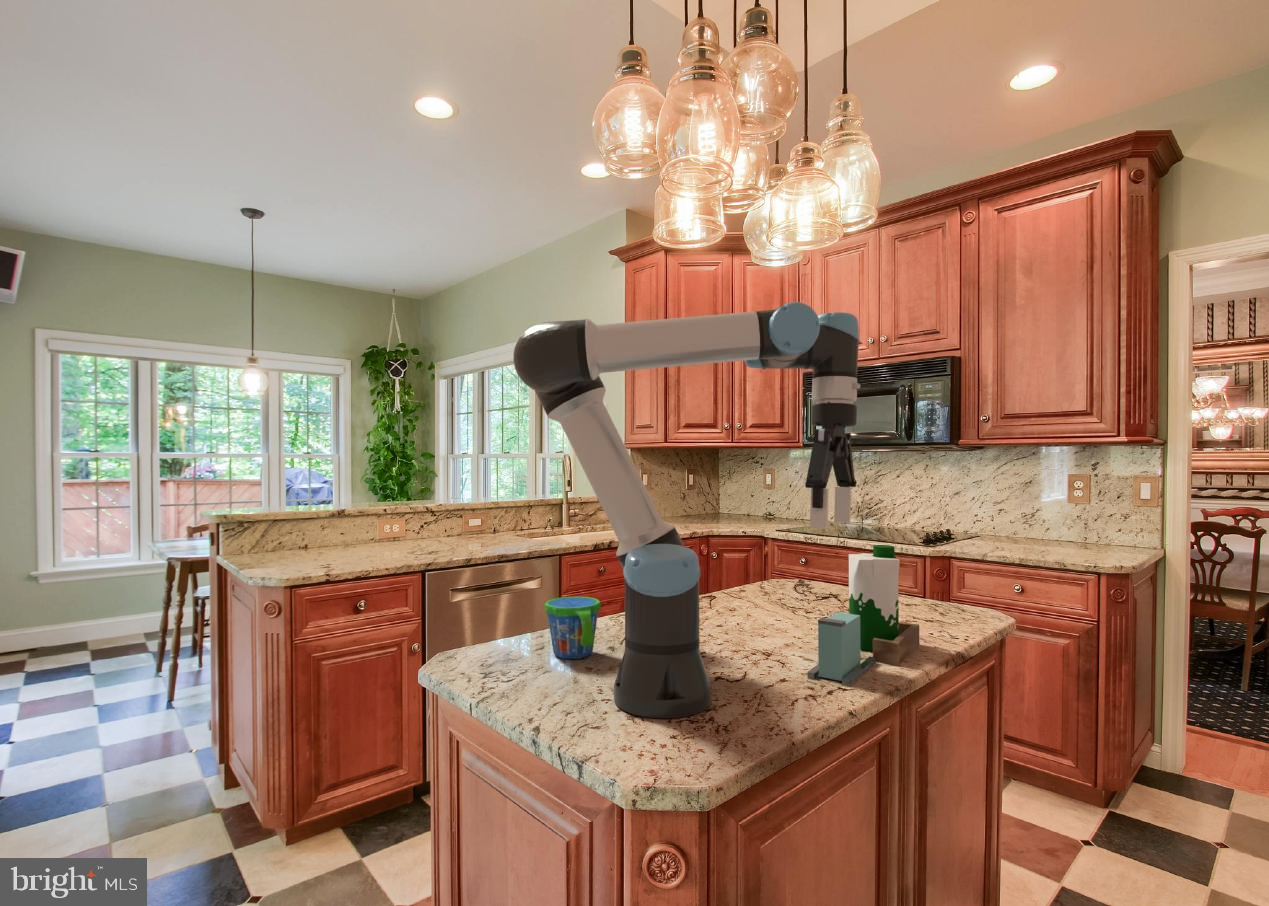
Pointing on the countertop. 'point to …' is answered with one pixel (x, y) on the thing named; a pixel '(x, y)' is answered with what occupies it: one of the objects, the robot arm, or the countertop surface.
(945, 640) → the countertop surface
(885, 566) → the soya milk
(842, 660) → the slider block
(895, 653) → the cradle
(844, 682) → the rails
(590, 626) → the snack cup
